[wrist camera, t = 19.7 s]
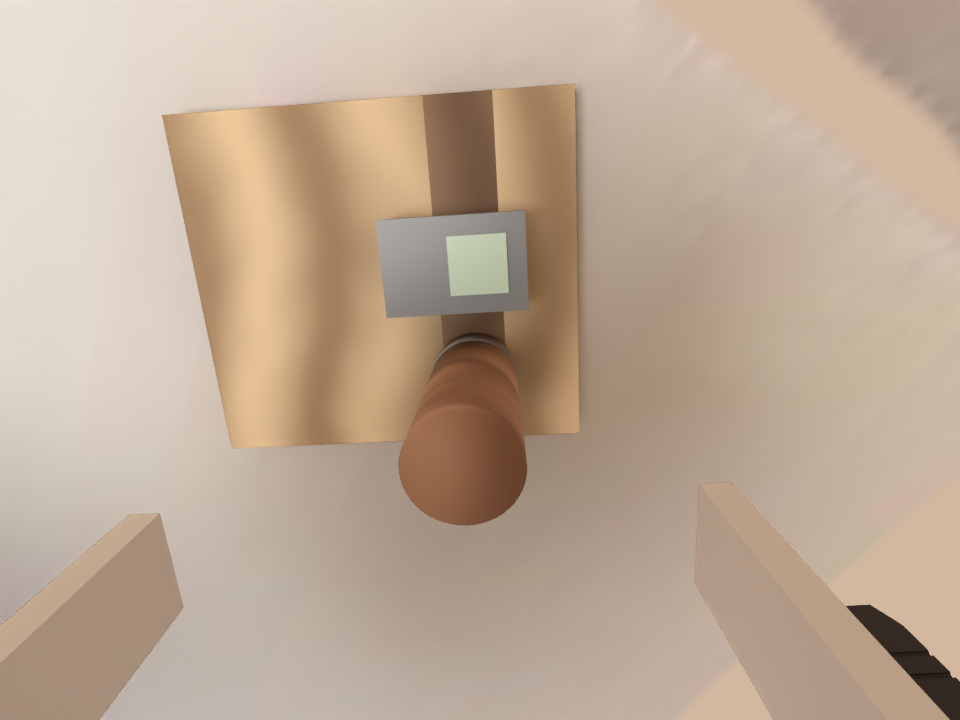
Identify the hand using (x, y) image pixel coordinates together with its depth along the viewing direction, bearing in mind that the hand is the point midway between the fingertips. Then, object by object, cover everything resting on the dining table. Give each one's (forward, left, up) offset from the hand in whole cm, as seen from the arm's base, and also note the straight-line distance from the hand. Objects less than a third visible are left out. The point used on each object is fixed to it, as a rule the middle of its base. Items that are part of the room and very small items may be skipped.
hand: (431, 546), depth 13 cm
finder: (0, +6, -14) cm, 15 cm away
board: (-3, +5, -15) cm, 16 cm away
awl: (0, 0, -14) cm, 14 cm away
